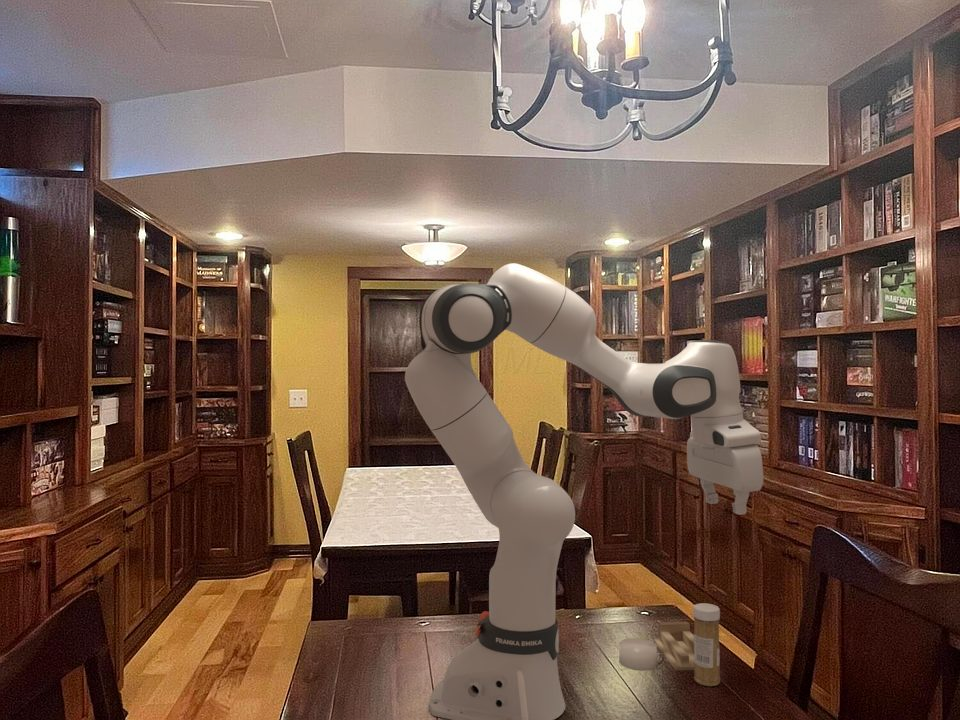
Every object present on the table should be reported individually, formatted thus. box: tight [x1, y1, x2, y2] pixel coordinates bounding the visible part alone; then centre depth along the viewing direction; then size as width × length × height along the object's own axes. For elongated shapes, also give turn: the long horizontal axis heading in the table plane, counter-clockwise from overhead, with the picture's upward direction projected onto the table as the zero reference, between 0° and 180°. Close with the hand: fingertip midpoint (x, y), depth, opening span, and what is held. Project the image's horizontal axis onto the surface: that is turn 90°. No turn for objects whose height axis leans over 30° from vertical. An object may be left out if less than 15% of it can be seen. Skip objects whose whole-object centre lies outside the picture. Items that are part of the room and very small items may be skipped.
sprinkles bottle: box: [692, 602, 721, 687], centre depth 129 cm, size 5×5×14 cm
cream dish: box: [618, 637, 658, 671], centre depth 137 cm, size 7×7×4 cm
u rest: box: [653, 621, 695, 671], centre depth 141 cm, size 14×8×4 cm, turn 3°
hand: (725, 508), depth 127 cm, fingers open, 8 cm apart
